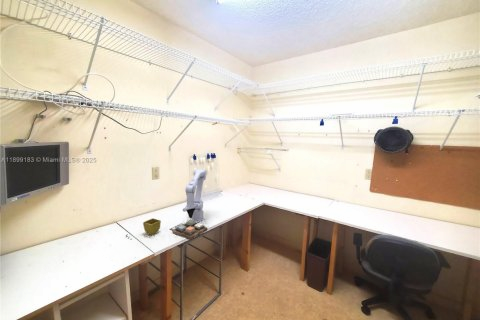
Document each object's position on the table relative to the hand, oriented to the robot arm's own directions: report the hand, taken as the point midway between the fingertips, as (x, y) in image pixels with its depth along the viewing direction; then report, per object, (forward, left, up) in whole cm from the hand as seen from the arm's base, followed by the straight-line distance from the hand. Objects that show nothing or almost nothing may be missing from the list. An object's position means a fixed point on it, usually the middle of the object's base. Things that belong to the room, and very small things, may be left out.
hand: (190, 217), depth 153 cm
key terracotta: (+9, +8, -5) cm, 13 cm away
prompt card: (+5, -9, -8) cm, 13 cm away
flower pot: (+21, -17, -9) cm, 29 cm away
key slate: (+9, 0, -6) cm, 11 cm away
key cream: (0, +8, -6) cm, 10 cm away
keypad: (+5, +4, -8) cm, 10 cm away
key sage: (0, 0, -5) cm, 5 cm away
